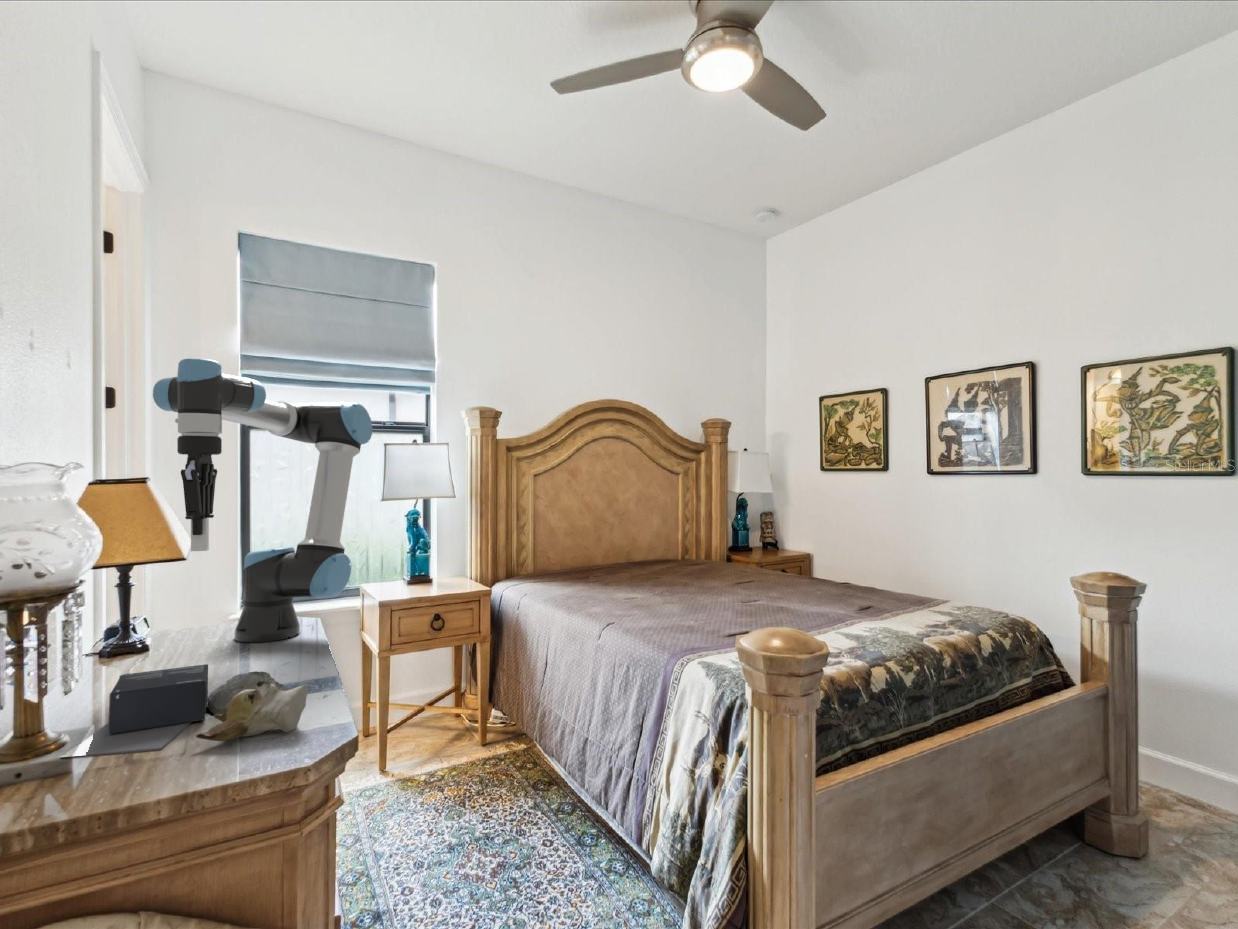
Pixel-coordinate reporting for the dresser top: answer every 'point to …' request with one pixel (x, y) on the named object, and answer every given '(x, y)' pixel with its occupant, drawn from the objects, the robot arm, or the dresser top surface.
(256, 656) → the dresser top surface
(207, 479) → the robot arm
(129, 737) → the mat
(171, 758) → the dresser top surface
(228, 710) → the ceramic sculpture
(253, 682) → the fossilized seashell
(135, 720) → the small box
